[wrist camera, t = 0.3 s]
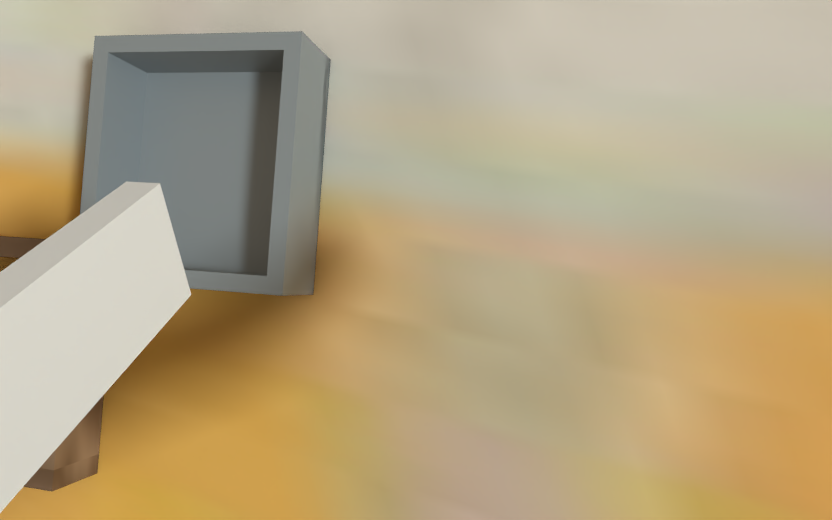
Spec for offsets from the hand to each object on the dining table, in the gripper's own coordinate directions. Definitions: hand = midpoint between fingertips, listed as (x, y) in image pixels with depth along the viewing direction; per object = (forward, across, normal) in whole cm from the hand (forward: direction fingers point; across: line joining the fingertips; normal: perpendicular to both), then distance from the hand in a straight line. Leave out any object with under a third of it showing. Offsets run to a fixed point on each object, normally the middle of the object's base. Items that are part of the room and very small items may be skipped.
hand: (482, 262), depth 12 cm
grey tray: (+17, +15, +6) cm, 23 cm away
